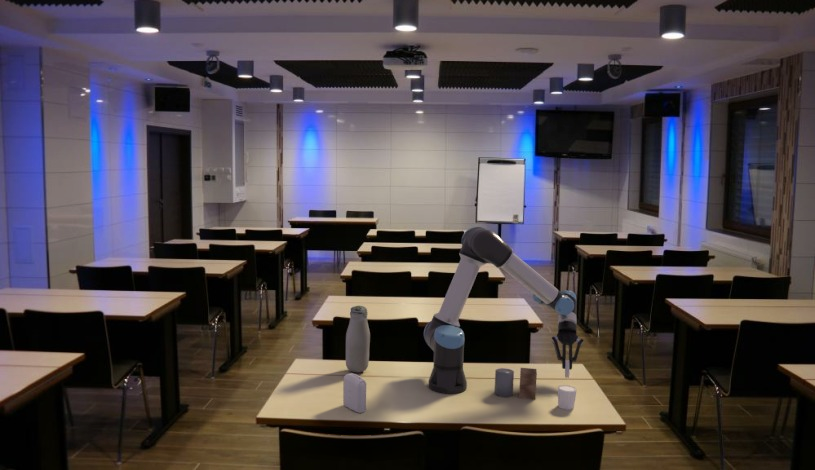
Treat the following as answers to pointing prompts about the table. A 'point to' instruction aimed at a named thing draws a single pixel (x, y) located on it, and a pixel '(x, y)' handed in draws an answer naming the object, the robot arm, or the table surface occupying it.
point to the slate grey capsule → (504, 382)
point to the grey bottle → (357, 340)
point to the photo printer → (354, 393)
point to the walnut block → (528, 383)
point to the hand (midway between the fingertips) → (567, 375)
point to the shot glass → (566, 396)
